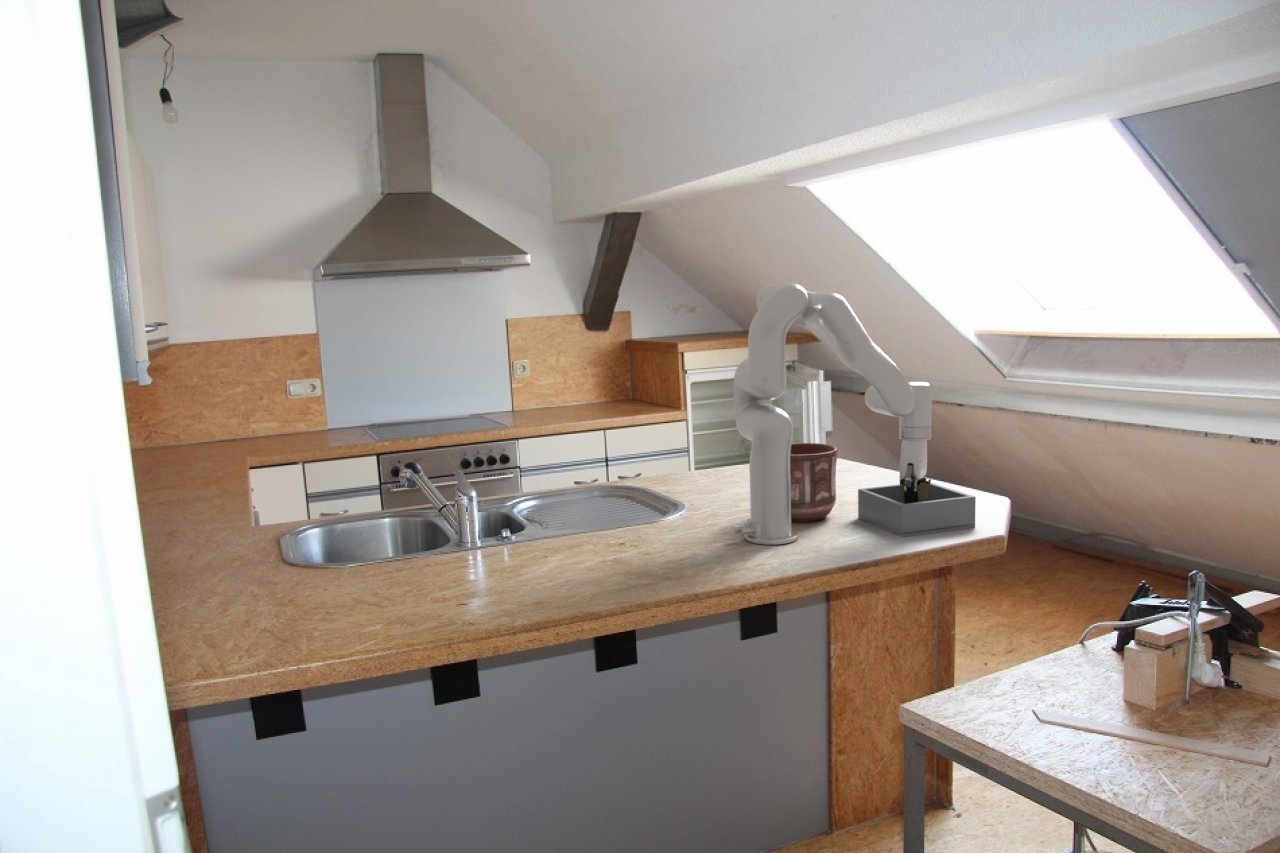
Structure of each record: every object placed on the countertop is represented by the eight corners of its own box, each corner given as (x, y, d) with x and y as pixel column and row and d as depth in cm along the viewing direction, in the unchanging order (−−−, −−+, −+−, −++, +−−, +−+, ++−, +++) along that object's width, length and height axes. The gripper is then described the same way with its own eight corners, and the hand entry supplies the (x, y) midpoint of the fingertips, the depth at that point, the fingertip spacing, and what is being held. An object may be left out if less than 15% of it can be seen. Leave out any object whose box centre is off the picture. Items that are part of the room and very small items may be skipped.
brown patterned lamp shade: (893, 508, 240) (893, 477, 238) (918, 506, 242) (919, 474, 240) (910, 515, 232) (910, 483, 231) (936, 512, 235) (936, 480, 233)
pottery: (818, 529, 235) (817, 456, 232) (755, 520, 245) (754, 451, 243) (849, 513, 249) (848, 445, 246) (788, 506, 259) (787, 440, 257)
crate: (902, 536, 225) (902, 505, 224) (858, 518, 244) (858, 489, 243) (975, 527, 231) (975, 496, 230) (926, 509, 250) (926, 481, 249)
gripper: (907, 426, 244) (906, 495, 246) (891, 437, 228) (890, 510, 231) (937, 428, 240) (936, 497, 243) (923, 439, 225) (922, 513, 227)
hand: (914, 503), depth 237 cm, fingers closed on brown patterned lamp shade, 7 cm apart
